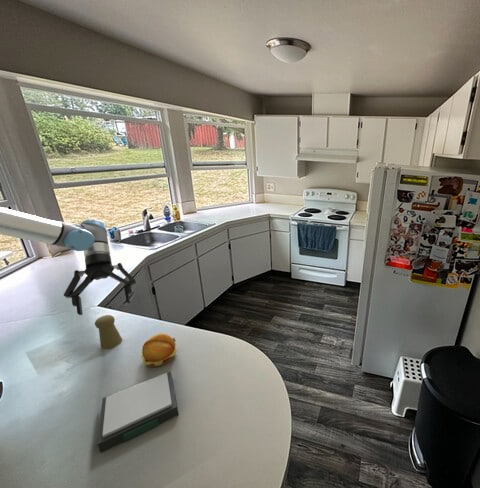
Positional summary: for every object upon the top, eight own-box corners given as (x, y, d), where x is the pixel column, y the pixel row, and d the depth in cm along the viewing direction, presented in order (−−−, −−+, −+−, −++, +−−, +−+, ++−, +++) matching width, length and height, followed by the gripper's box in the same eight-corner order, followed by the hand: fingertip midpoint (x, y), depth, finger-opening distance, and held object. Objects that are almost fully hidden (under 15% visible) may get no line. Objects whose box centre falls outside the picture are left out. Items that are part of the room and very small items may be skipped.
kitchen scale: (100, 455, 58) (95, 444, 56) (105, 405, 69) (101, 395, 67) (179, 416, 67) (176, 406, 65) (172, 378, 78) (170, 368, 76)
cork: (125, 341, 91) (117, 316, 88) (104, 351, 86) (95, 325, 83) (118, 335, 94) (110, 310, 91) (98, 344, 89) (89, 319, 86)
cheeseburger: (172, 341, 92) (170, 322, 87) (182, 363, 86) (180, 344, 81) (139, 355, 85) (135, 335, 80) (147, 379, 79) (143, 360, 74)
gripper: (138, 254, 107) (147, 300, 101) (56, 267, 93) (61, 321, 87) (135, 246, 102) (145, 294, 96) (48, 259, 88) (52, 317, 81)
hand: (105, 307), depth 91 cm, fingers open, 13 cm apart
